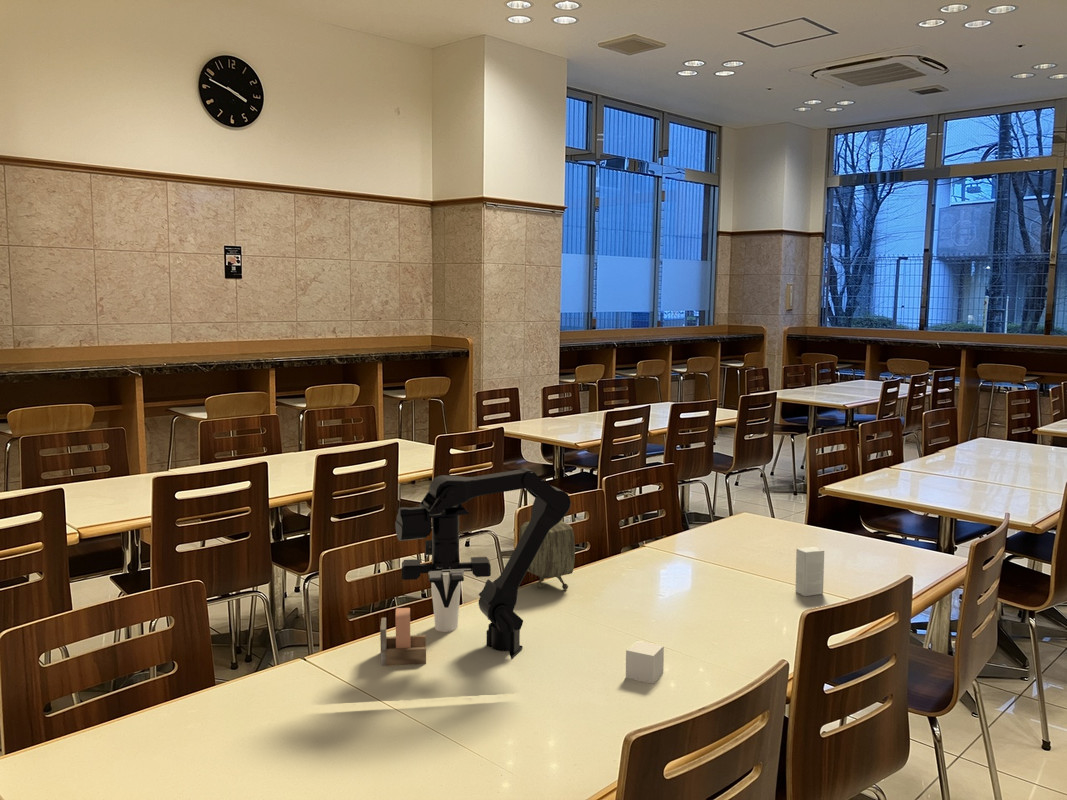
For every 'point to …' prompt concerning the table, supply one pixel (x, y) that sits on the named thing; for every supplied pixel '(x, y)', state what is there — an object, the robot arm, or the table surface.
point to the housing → (401, 649)
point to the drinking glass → (446, 607)
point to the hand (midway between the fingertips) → (446, 607)
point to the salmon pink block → (403, 628)
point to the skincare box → (809, 571)
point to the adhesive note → (644, 661)
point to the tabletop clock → (554, 553)
